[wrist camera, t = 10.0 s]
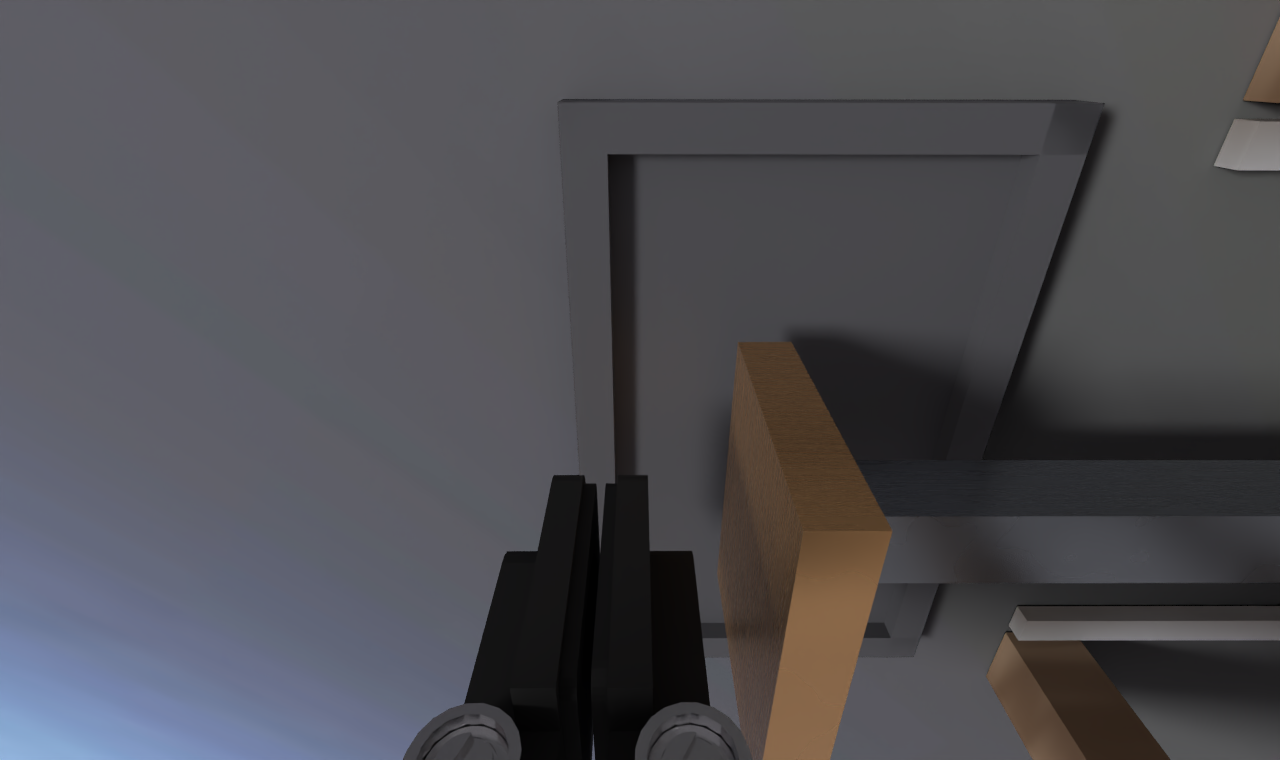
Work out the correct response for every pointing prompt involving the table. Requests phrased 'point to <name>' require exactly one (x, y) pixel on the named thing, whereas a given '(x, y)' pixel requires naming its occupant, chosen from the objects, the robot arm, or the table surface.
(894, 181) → the tray
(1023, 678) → the tunnel
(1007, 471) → the slider
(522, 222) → the table surface
